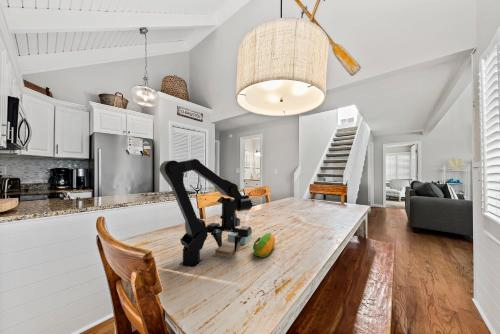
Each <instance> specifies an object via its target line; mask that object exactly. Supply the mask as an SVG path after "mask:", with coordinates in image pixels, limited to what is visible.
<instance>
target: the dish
mask: <svg viewBox="0 0 500 334" xmlns="http://www.w3.org/2000/svg"><path fill="white" fill-rule="evenodd" d="M236 235H237V233H234V232H228V234H227V242H231V243H235V236H236ZM252 236H253V235H252V233H251V234H250V235H249V236H248V237H243V238H242V239H241V240H240V243H239V244H240V245H244V246H246V245H247V244H248V243H249V241H250V240H252Z"/></svg>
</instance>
